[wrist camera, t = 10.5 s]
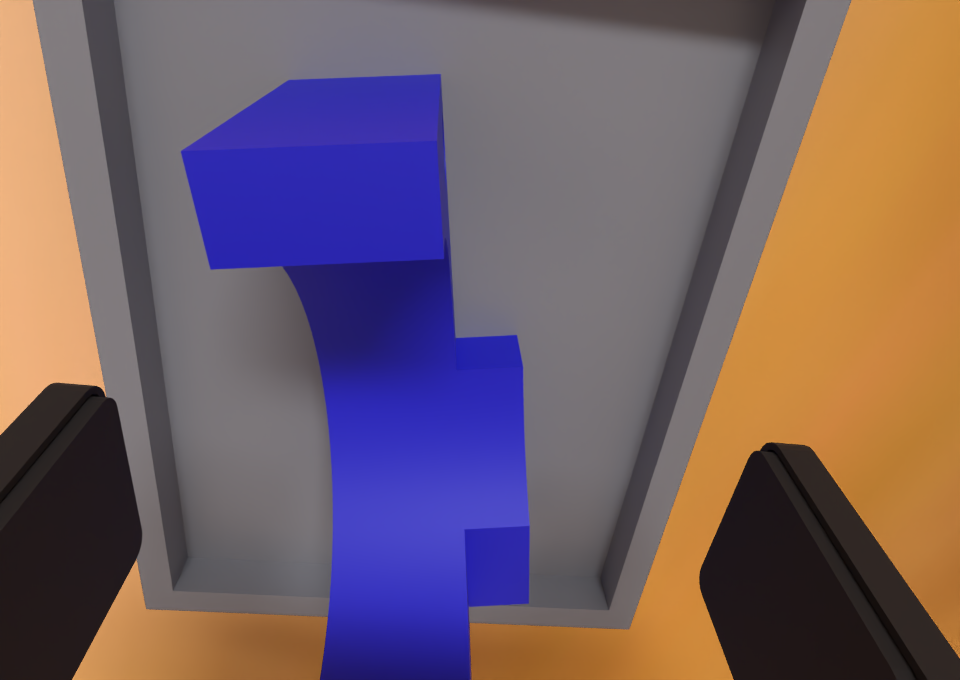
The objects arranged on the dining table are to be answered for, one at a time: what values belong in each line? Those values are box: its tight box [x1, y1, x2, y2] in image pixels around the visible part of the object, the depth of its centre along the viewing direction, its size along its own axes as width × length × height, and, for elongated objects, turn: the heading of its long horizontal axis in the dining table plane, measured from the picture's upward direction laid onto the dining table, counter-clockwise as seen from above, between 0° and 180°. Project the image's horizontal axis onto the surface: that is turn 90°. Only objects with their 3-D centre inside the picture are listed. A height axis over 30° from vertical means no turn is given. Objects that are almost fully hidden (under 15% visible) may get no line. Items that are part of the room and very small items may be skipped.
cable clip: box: [181, 74, 530, 680], centre depth 13 cm, size 12×4×6 cm, turn 2°
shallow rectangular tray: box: [33, 0, 851, 629], centre depth 16 cm, size 14×18×2 cm
